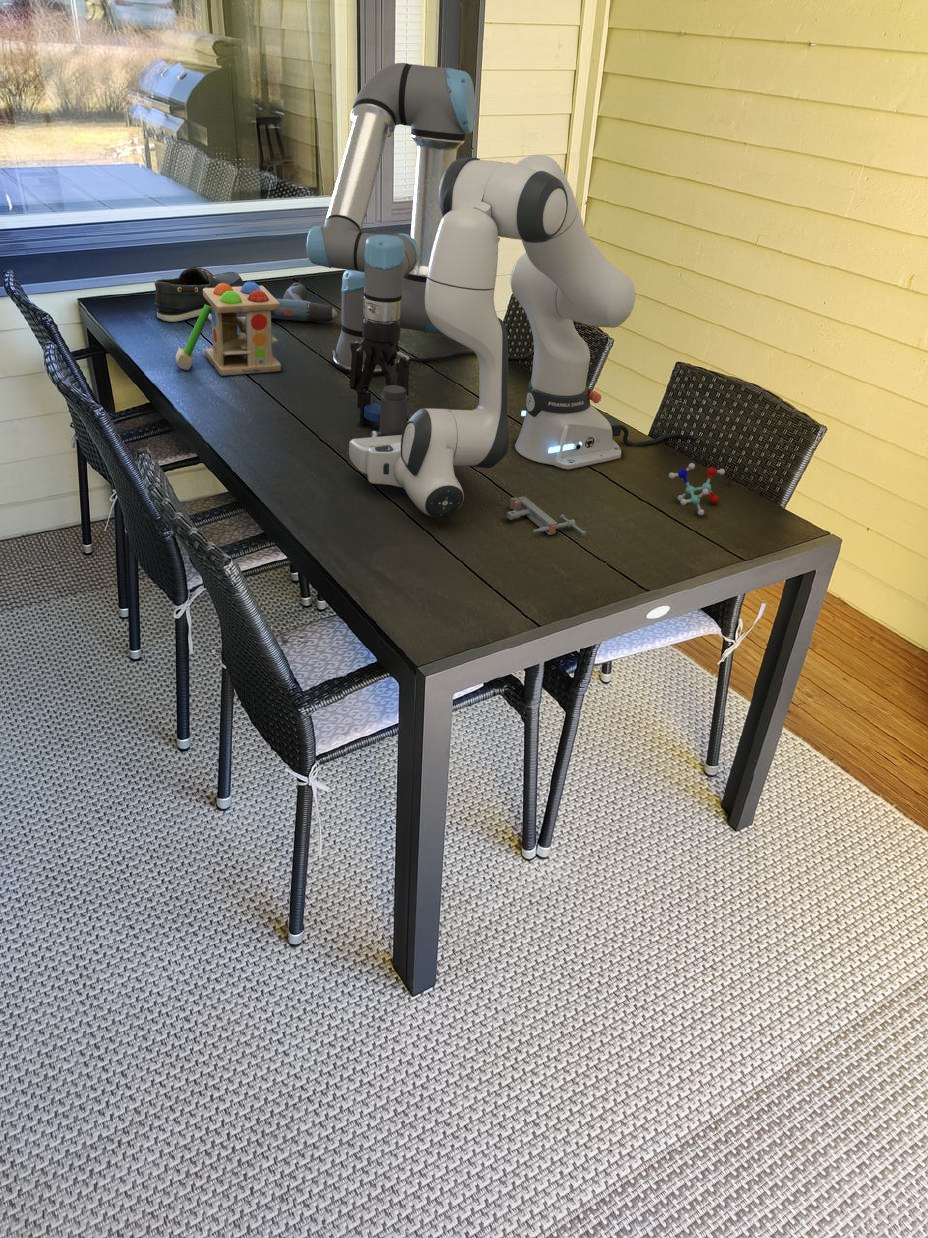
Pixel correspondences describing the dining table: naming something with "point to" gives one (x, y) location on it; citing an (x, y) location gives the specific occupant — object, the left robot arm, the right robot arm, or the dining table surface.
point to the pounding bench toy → (229, 347)
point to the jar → (393, 410)
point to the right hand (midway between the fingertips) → (390, 432)
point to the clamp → (538, 516)
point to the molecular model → (691, 490)
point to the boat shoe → (188, 292)
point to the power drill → (301, 307)
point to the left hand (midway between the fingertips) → (377, 427)
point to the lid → (372, 412)
